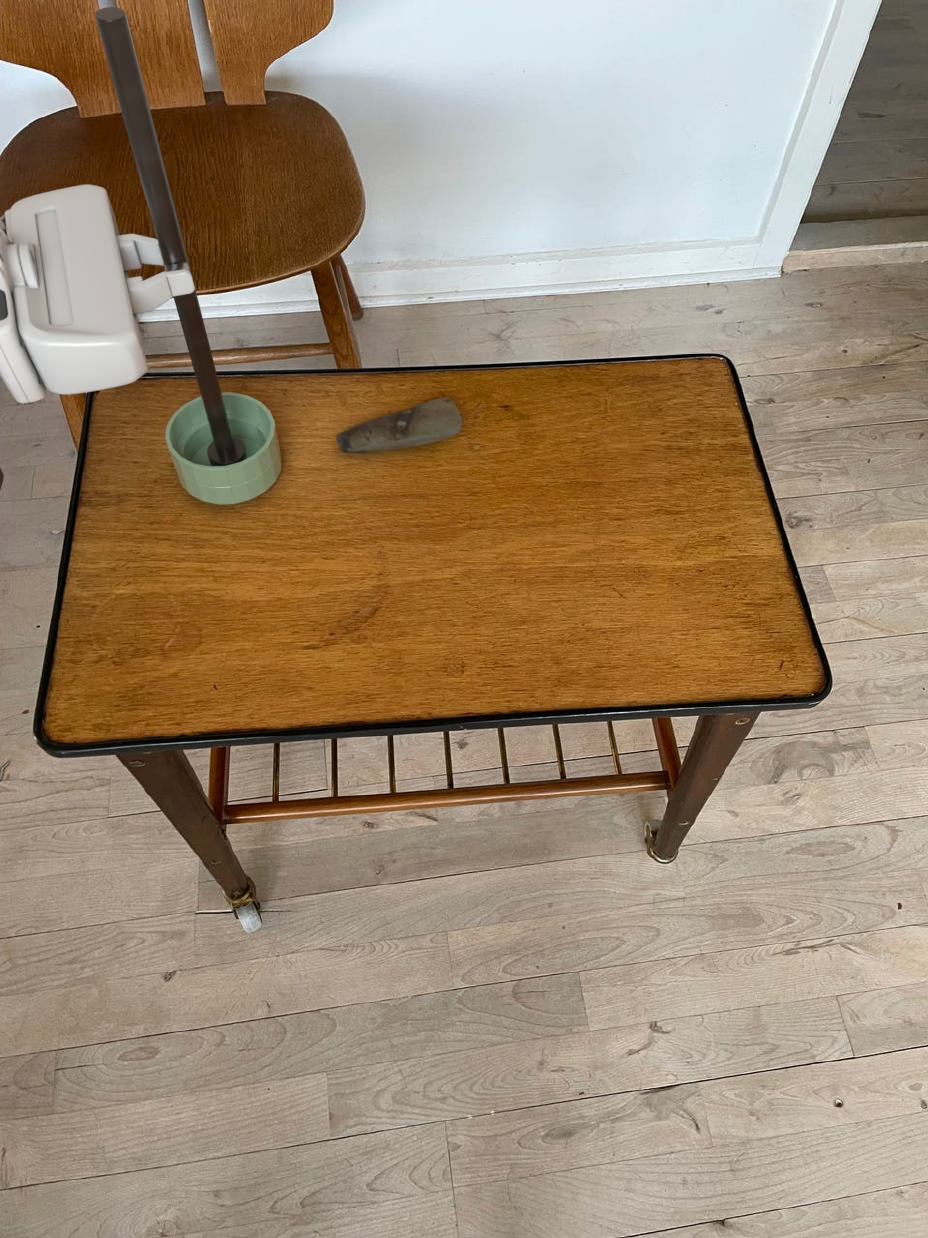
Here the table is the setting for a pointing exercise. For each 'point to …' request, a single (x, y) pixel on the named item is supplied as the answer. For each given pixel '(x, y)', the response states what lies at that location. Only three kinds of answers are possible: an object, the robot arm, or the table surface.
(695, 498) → the table surface
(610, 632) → the table surface
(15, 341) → the robot arm
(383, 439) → the stone
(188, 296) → the stick
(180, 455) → the bowl
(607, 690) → the table surface
